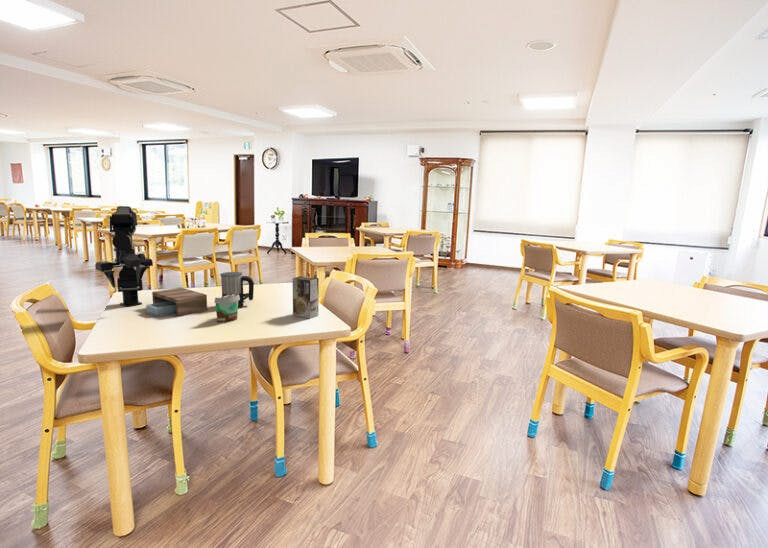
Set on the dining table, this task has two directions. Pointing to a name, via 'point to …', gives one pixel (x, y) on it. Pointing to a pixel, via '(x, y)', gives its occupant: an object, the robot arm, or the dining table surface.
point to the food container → (227, 307)
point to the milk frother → (236, 285)
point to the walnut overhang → (182, 300)
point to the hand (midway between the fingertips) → (126, 285)
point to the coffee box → (305, 296)
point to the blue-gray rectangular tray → (161, 308)
